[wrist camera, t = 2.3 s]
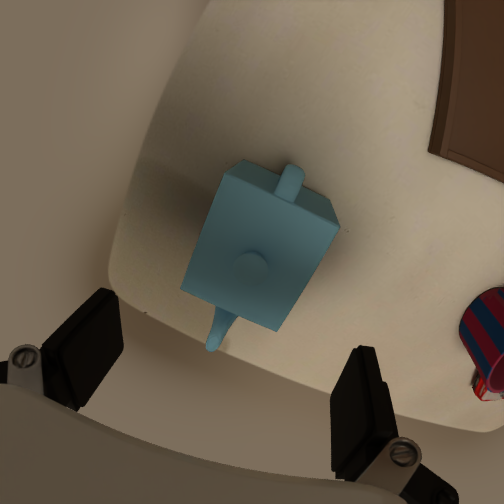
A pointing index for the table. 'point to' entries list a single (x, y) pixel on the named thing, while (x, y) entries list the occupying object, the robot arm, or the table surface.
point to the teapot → (258, 246)
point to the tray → (472, 87)
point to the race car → (485, 391)
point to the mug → (486, 337)
